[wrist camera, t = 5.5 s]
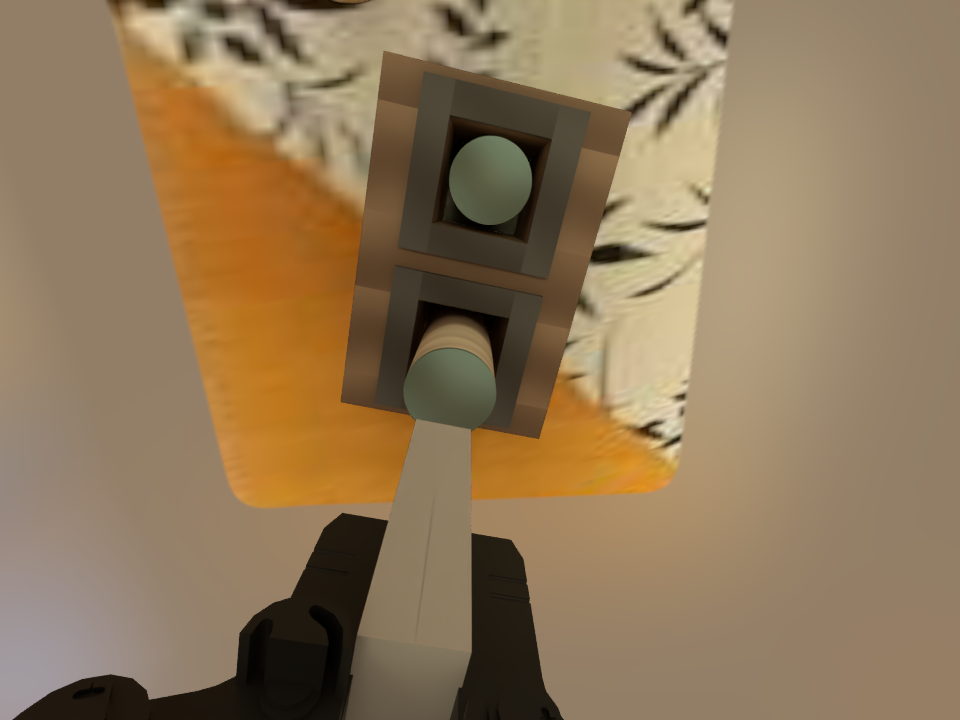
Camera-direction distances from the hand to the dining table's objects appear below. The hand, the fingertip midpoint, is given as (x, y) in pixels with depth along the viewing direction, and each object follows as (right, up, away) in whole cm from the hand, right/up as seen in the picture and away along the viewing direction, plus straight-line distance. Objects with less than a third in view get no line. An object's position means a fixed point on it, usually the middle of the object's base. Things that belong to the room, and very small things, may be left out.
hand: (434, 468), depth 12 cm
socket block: (+1, +10, +19) cm, 22 cm away
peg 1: (+2, +14, +17) cm, 22 cm away
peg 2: (0, +4, +15) cm, 15 cm away
